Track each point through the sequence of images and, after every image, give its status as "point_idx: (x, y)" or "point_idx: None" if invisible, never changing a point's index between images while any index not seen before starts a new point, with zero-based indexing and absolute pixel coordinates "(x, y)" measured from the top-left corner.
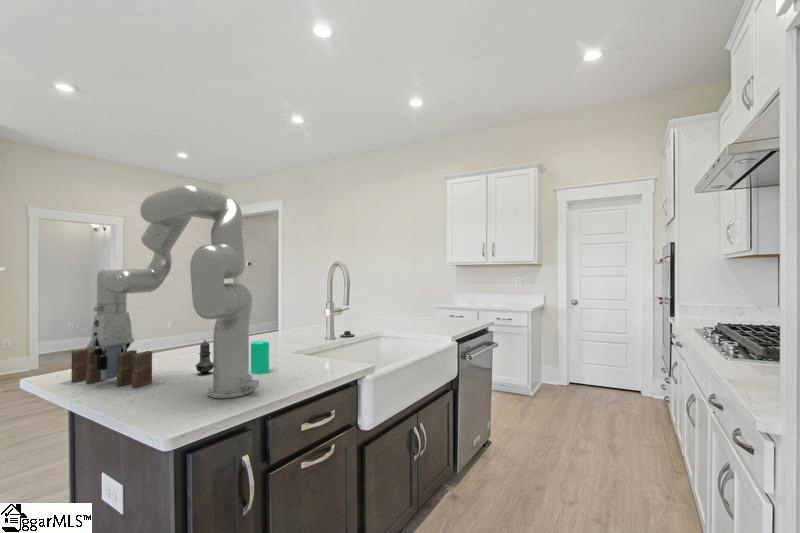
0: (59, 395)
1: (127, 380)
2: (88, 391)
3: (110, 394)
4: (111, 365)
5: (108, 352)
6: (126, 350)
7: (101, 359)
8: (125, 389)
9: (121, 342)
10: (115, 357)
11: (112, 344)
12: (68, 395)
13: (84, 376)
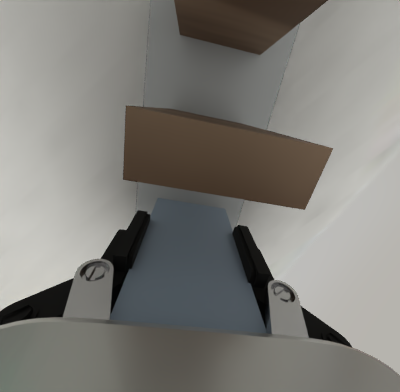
0: (302, 253)
1: (216, 118)
2: (270, 209)
3: (321, 102)
4: (202, 235)
5: (233, 304)
6: (82, 269)
7: (270, 277)
8: (281, 71)
9: (157, 350)
10: (177, 259)
11: (295, 354)
12: (306, 232)
13: None
